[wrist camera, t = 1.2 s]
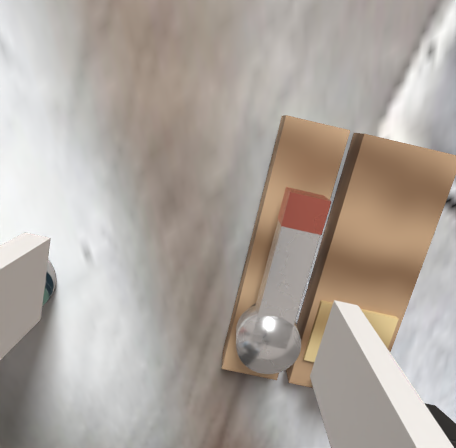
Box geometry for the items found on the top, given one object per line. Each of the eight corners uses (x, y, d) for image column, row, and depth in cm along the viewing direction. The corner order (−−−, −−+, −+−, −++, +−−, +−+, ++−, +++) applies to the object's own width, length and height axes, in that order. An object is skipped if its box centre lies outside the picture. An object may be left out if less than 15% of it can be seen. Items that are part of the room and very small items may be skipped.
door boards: (363, 381, 35) (391, 438, 28) (222, 351, 34) (220, 402, 28) (443, 154, 30) (499, 162, 24) (281, 116, 29) (294, 114, 23)
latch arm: (287, 362, 30) (291, 380, 28) (230, 350, 29) (229, 367, 27) (337, 198, 27) (345, 204, 25) (272, 183, 26) (276, 188, 24)
